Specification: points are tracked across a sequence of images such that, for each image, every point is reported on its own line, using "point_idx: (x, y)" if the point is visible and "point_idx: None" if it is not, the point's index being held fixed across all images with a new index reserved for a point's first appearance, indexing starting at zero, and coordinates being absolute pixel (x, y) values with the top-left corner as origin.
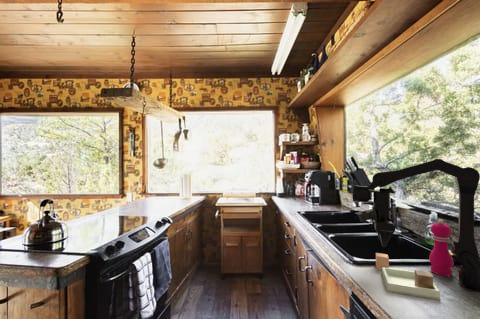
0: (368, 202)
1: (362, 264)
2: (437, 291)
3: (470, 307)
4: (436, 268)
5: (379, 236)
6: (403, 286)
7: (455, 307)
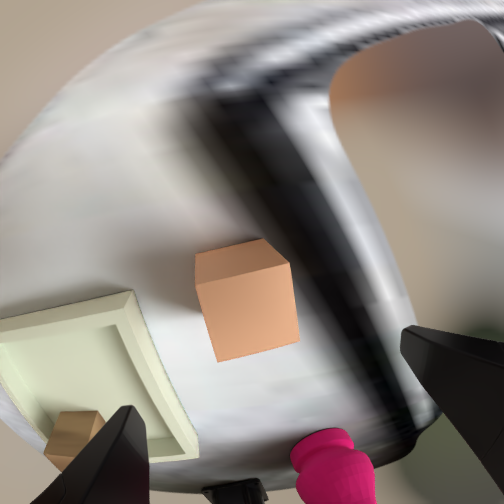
0: None
1: (229, 157)
2: None
3: None
4: (306, 456)
5: (431, 353)
6: (3, 382)
7: None
